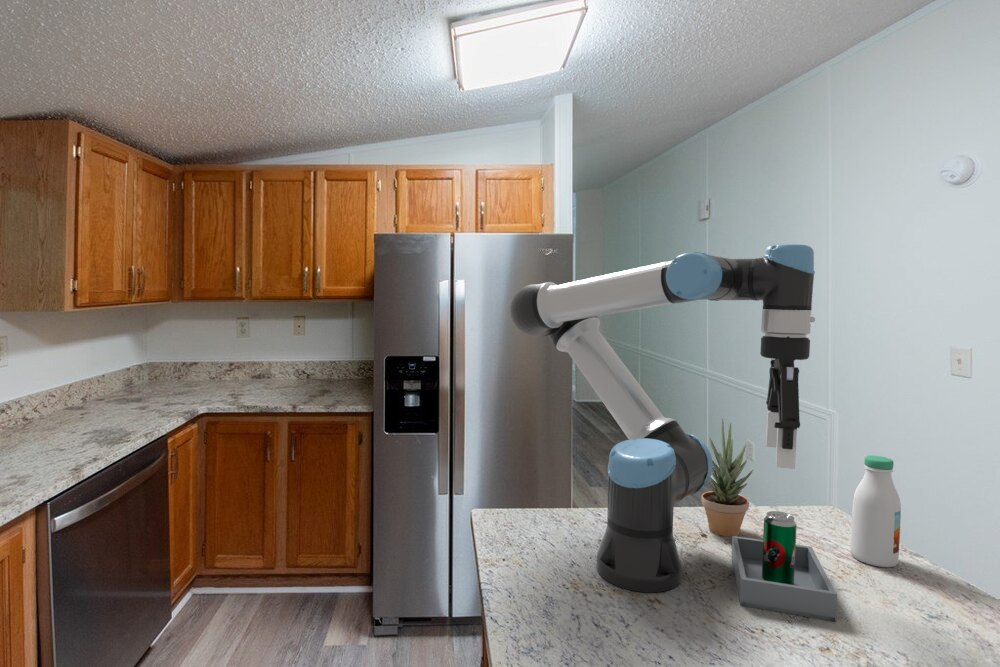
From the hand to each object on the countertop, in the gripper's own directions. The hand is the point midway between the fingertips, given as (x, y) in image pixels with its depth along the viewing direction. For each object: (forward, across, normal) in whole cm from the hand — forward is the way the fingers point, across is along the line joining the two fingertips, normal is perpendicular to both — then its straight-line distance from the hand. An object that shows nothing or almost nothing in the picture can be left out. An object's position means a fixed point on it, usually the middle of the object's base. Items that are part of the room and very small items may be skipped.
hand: (779, 456), depth 95 cm
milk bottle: (+23, +17, -20) cm, 35 cm away
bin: (+23, -1, -1) cm, 23 cm away
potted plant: (+23, +21, +7) cm, 32 cm away
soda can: (+22, -1, -1) cm, 22 cm away
